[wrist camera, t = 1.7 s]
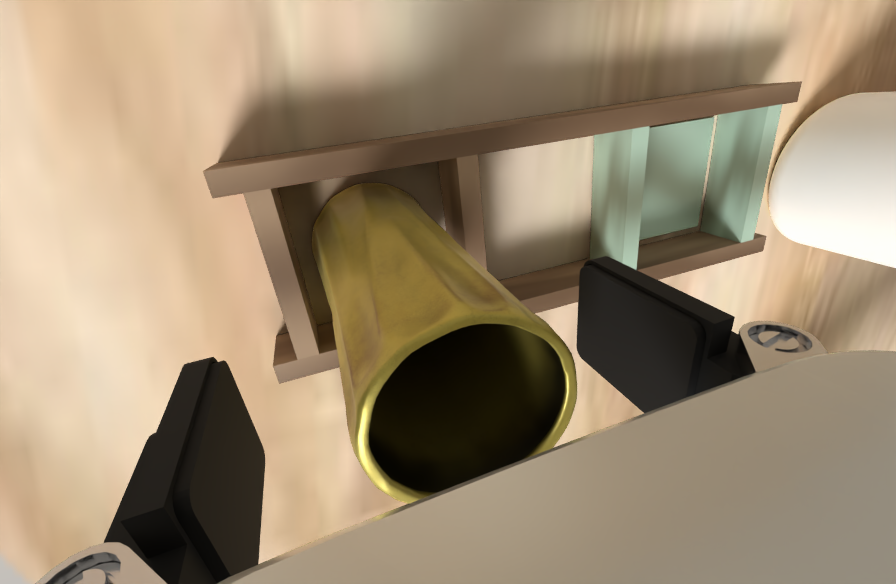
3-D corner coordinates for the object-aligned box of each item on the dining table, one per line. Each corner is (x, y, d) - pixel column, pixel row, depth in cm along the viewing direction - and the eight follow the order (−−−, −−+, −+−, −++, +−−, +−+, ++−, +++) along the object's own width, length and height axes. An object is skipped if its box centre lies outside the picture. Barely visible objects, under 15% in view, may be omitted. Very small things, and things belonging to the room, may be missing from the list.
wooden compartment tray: (721, 238, 29) (763, 250, 27) (281, 351, 22) (279, 383, 19) (749, 84, 25) (801, 81, 22) (217, 162, 18) (203, 171, 15)
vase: (319, 170, 19) (354, 275, 7) (441, 193, 22) (634, 303, 9) (305, 291, 21) (313, 542, 9) (418, 300, 24) (551, 510, 11)
